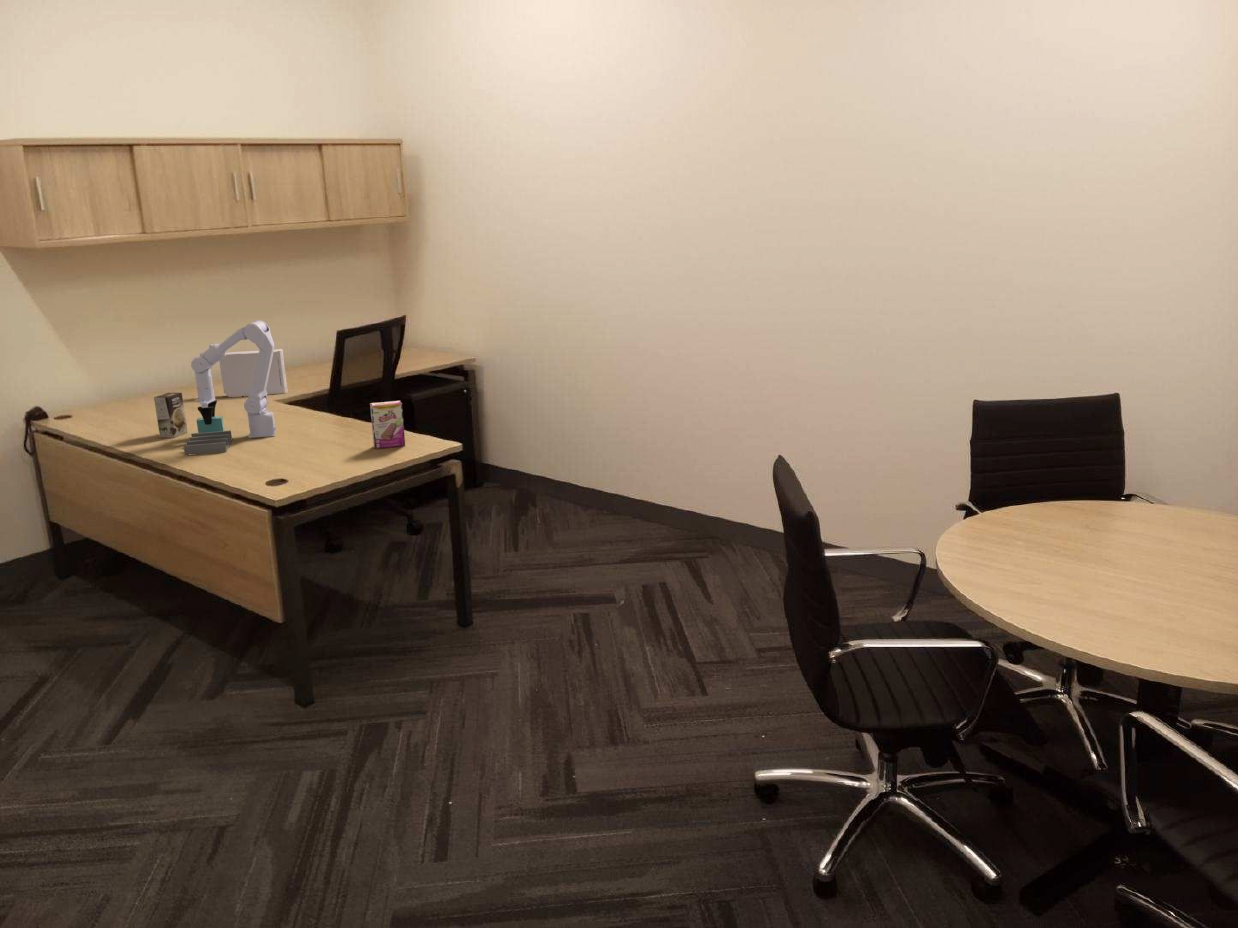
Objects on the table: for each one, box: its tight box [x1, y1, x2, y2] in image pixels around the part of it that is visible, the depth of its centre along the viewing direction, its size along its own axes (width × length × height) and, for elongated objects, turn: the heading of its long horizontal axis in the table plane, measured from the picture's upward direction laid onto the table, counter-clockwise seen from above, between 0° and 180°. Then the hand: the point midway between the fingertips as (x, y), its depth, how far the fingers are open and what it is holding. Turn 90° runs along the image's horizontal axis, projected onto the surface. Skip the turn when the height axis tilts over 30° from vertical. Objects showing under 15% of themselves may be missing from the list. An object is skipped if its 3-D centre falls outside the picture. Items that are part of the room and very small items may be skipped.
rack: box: [183, 430, 233, 456], centre depth 359 cm, size 14×19×4 cm
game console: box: [218, 348, 289, 398], centre depth 442 cm, size 6×27×20 cm, turn 106°
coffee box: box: [153, 392, 189, 439], centre depth 375 cm, size 9×6×16 cm
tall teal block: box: [195, 415, 226, 433], centre depth 373 cm, size 9×4×8 cm, turn 105°
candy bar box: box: [369, 400, 406, 450], centre depth 353 cm, size 11×5×16 cm, turn 110°
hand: (209, 422), depth 372 cm, fingers open, 7 cm apart
